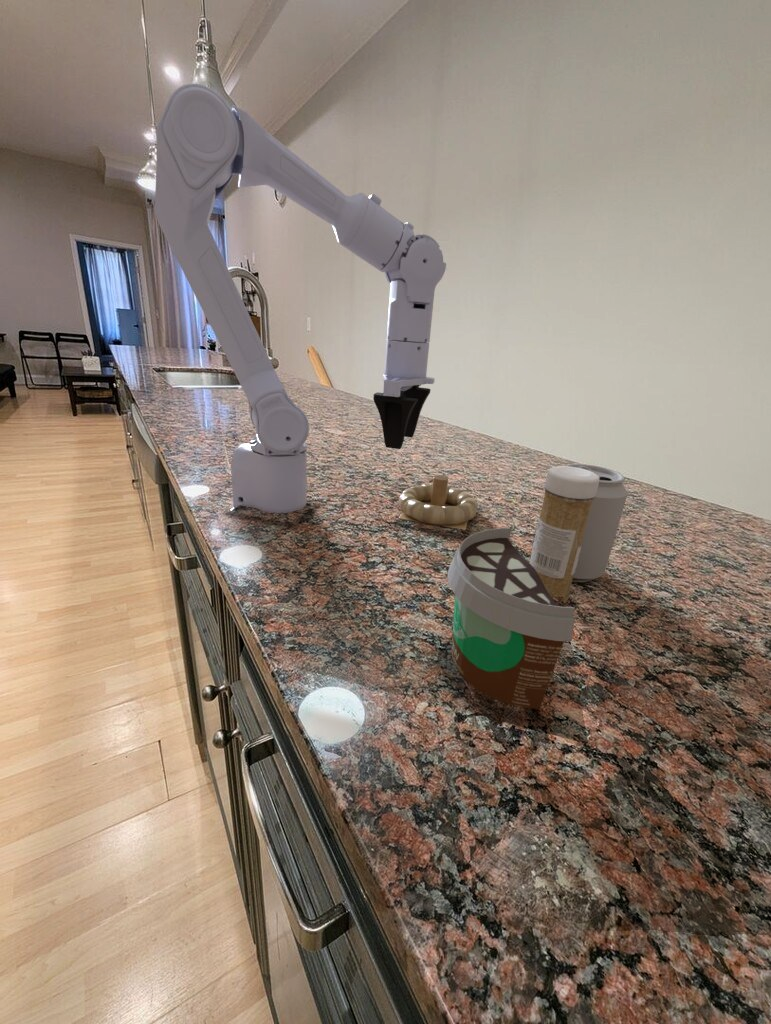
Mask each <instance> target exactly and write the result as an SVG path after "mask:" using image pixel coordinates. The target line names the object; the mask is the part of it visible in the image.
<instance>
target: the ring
mask: <svg viewBox="0 0 771 1024" xmlns="http://www.w3.org/2000/svg"><path fill="white" fill-rule="evenodd" d="M432 487H433V484H417V485H415V486H411V487H407V488H405V489H404V490H403V491H402V493H401V494H400V495H399V497H398V501H397V503H398V506H399V507H400V509H401V510H402V512H404V513H405V514H406V515H408V516H410V517H412V518H414V519H417V520H419V521H421V522H420V523H422V522H426V523H425V524H428V523H432V524H431V525H434V524H438V525H437V526H440V525H452V524H461V523H463V522H466V521H468V522H469V521H470V520H473V519H474V518H475V517H476V515H477V513H478V512H477V511H478V508H479V503H478V501H477V500H476V499H475V498H474V497H473V496H472V495H471V494H470V493H468V492H467V491H465V490H461V489H459V488H455V487H453V486H448V485H447V493H446V501H445V503H449V504H452V505H454V506H443V507H441V506H435V505H429V504H425V503H423V502H421V501H431V496H432Z"/></svg>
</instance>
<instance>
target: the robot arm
mask: <svg viewBox="0 0 771 1024" xmlns="http://www.w3.org/2000/svg"><path fill="white" fill-rule="evenodd" d="M155 169H156V172H155V192H154V193H155V194H154V215H155V217H156V220H157V223H158V225H159V227H160V229H161V231H162V233H163V235H164V237H165V239H166V241H167V243H168V245H169V247H170V249H171V251H172V253H173V255H174V257H175V259H176V261H177V262H178V265H179V267H180V268H181V270H182V272H183V274H184V276H185V278H186V281H187V282H188V284H189V286H190V288H191V290H192V292H193V294H194V297H195V298H196V300H197V303H198V304H199V306H200V308H201V310H202V311H203V314H204V316H205V317H206V320H207V322H208V324H209V326H210V327H211V330H212V331H213V333H214V336H215V337H216V339H217V341H218V343H219V345H220V348H221V350H222V351H223V353H224V355H225V357H226V359H227V361H228V363H229V365H230V367H231V369H232V371H233V373H234V375H235V377H236V378H237V381H238V383H239V385H240V387H241V388H242V390H243V393H244V394H245V396H246V398H247V400H248V402H249V415H250V420H251V424H252V425H253V427H254V428H255V433H256V435H255V436H254V438H253V439H252V440H250V443H241V444H240V445H239V446H238V447H236V449H235V450H234V451H233V452H234V453H233V455H232V458H231V462H230V475H231V489H232V504H233V507H232V508H230V511H233V510H234V509H237V508H238V507H239V506H243V507H249V508H254V509H256V510H259V511H262V512H266V513H271V514H272V513H273V514H284V513H285V514H286V513H293V512H296V511H299V510H302V509H304V508H305V507H306V506H307V504H308V502H307V500H308V497H307V496H308V493H307V492H308V491H307V489H308V487H307V486H308V484H307V483H308V482H307V481H308V476H307V474H308V473H307V471H308V470H307V469H308V468H307V464H308V463H307V462H308V461H307V459H308V458H307V455H308V454H307V452H308V451H307V448H308V447H307V443H306V441H307V439H308V437H309V432H310V423H309V419H308V417H307V416H306V413H305V412H304V411H303V410H302V408H300V407H299V406H298V405H297V404H296V403H295V402H294V401H293V399H292V398H291V397H290V396H289V395H288V392H287V390H286V388H285V386H284V385H283V383H282V381H281V379H280V377H279V375H278V373H277V372H276V369H275V368H274V365H273V364H272V361H271V359H270V357H269V355H268V353H267V350H266V348H265V345H264V344H263V342H262V340H261V337H260V335H259V333H258V330H257V329H256V327H255V325H254V323H253V320H252V318H251V315H250V314H249V312H248V309H247V307H246V305H245V303H244V300H243V299H242V297H241V293H240V292H239V290H238V288H237V286H236V283H235V282H234V279H233V277H232V275H231V272H230V271H229V268H228V267H227V266H228V265H227V263H226V262H225V260H224V257H223V255H222V253H221V251H220V249H219V246H218V245H217V242H216V239H215V237H214V235H213V233H212V231H211V228H210V227H209V221H210V219H211V216H212V213H213V210H214V207H215V204H216V199H218V197H220V195H221V194H222V193H223V191H224V190H225V189H226V188H227V187H228V185H229V184H230V183H231V181H232V179H233V177H234V175H237V176H238V178H237V179H238V180H237V187H238V188H248V187H259V186H267V187H270V188H271V189H273V190H275V191H277V192H278V193H279V194H281V195H283V196H284V197H285V198H287V199H289V200H291V201H292V202H294V203H296V204H297V205H298V206H300V207H302V208H304V209H305V210H307V211H308V212H310V213H312V214H314V215H315V216H317V217H318V218H320V219H322V220H323V221H325V222H327V223H328V224H330V225H331V226H332V228H333V231H334V234H335V238H336V241H337V243H338V244H339V245H341V246H342V247H343V248H345V249H346V250H348V251H350V252H351V253H352V254H354V255H355V256H357V257H359V258H360V259H361V260H363V261H364V262H366V263H368V264H369V265H370V266H371V267H373V268H375V269H376V270H378V271H379V272H381V273H384V276H385V278H386V280H387V282H388V283H389V285H390V286H389V287H390V288H389V302H388V314H387V329H386V333H387V334H386V344H385V358H384V359H385V362H384V373H383V374H382V381H383V390H382V391H383V392H378V391H377V392H375V393H373V396H372V397H373V402H374V404H375V407H376V409H377V411H378V414H379V418H380V421H381V427H382V434H383V441H384V446H385V448H388V449H395V450H401V449H402V447H403V445H404V441H405V438H411V439H412V438H413V437H414V435H415V432H416V429H417V426H418V421H419V418H420V415H421V412H422V409H423V407H424V405H425V403H426V401H427V399H428V397H429V395H430V394H431V389H430V388H429V387H422V385H434V384H435V381H436V379H435V377H430V376H427V374H428V373H427V372H428V362H429V352H430V342H431V331H432V322H433V321H432V320H433V310H434V299H435V291H436V287H437V286H438V284H439V283H440V281H441V280H442V279H443V277H444V276H445V275H444V274H445V272H446V269H447V263H446V262H445V261H444V255H443V251H442V249H440V248H441V246H440V245H439V243H438V242H437V241H436V240H435V238H433V237H432V236H430V235H428V234H416V235H415V232H414V229H415V226H414V224H412V223H410V222H409V221H406V222H403V221H401V220H400V219H399V218H397V217H396V216H394V215H393V214H392V213H391V212H389V211H388V210H386V209H385V208H384V207H382V206H381V203H382V199H381V198H380V197H379V196H378V195H376V194H375V193H371V194H370V195H369V196H367V195H366V194H365V193H364V192H357V193H355V194H351V195H346V194H345V193H344V192H343V191H341V190H340V189H339V188H337V187H336V186H335V185H334V184H333V183H331V182H330V181H329V180H328V179H326V178H325V177H324V176H323V175H321V174H320V173H319V172H318V171H317V170H316V169H314V168H313V167H312V166H310V165H309V164H308V163H306V162H305V161H304V160H303V159H301V157H299V156H298V155H297V154H295V153H294V152H293V151H292V150H291V149H290V148H288V147H287V146H286V145H285V144H283V143H282V142H280V141H279V139H277V138H276V137H275V136H273V135H272V134H271V133H270V132H269V131H268V130H266V129H265V128H264V127H263V126H262V125H261V124H260V123H259V122H258V121H257V120H255V118H254V117H252V115H250V113H248V112H247V111H246V110H244V109H243V108H240V107H239V106H237V105H235V104H231V107H230V105H229V104H228V102H226V100H225V99H224V98H223V97H222V96H221V95H220V94H219V93H218V92H216V91H215V90H214V89H212V88H210V87H209V86H207V85H203V84H200V83H199V84H198V83H187V84H183V85H181V86H179V87H178V88H177V89H175V90H174V91H173V92H172V94H170V96H169V98H168V99H167V102H166V105H165V107H164V110H163V112H162V114H161V116H160V119H159V120H158V122H157V126H156V167H155Z"/></svg>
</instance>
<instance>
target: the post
mask: <svg viewBox="0 0 771 1024" xmlns="http://www.w3.org/2000/svg"><path fill="white" fill-rule="evenodd" d="M432 485H433V487H432V496H431V501H421V502H423V503H425V504H429V505H435V506H441V507H443V506H454V505H452V504H449V503H445V501H446V493H447V486H448V485H449V478H448V477H447V476H446V475H445V476H444V475H435V476H433V480H432ZM398 519H399V520H406V521H411V522H417V523H422V524H429V525H434V526H440V527H446V528H452V529H458V530H463V531H466V530H467V527H468V522H469V520H468V521H466V522H463V523H461V524H452V525H438V524H432V523H426V522H421V521H419V520H417V519H414V518H412V517H410V516H408V515H406V514H405V513H404V512H403V511H402V512H401V513H400V514H399V516H398Z"/></svg>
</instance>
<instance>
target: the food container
mask: <svg viewBox="0 0 771 1024" xmlns="http://www.w3.org/2000/svg"><path fill="white" fill-rule="evenodd" d="M511 530H512V528H510V527H500V528H491V529H484V530H481V531H476V532H475V533H472V534H470V535H468V536H467V537H466V538H464V540H462V542H461V543H460V545H459V546H458V548H457V549H456V550H455V553H454V555H453V558H452V560H451V563H450V565H449V568H448V570H447V583H448V585H449V588H450V589H451V591H452V593H453V594H454V602H453V603H454V605H453V619H452V637H451V659H452V662H453V664H454V667H455V669H456V670H457V672H458V673H459V675H460V676H461V677H462V678H463V679H464V681H465V682H467V683H468V684H469V685H470V686H472V688H474V689H476V690H477V691H478V692H480V693H482V694H483V695H485V696H487V697H489V698H490V699H493V700H496V701H497V702H500V703H503V704H505V705H510V706H513V707H518V708H525V709H539V710H540V709H541V706H542V704H543V701H544V698H545V696H546V693H547V690H548V687H549V684H550V682H551V679H552V676H553V673H554V671H555V667H556V665H557V662H558V659H559V656H560V653H561V651H562V648H563V645H564V642H572V640H573V635H574V634H573V633H574V627H575V619H574V615H575V610H576V608H575V606H574V607H573V606H559V605H558V604H557V602H556V601H555V600H554V597H551V596H550V594H549V593H548V591H547V589H546V588H545V586H544V584H543V582H542V581H541V579H540V577H539V575H538V574H537V572H536V570H535V569H534V567H533V566H532V565H531V564H530V561H528V560H526V559H525V558H524V557H523V555H521V554H520V553H519V551H517V549H516V548H515V546H514V545H513V544H512V542H511V541H510V537H511Z"/></svg>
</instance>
